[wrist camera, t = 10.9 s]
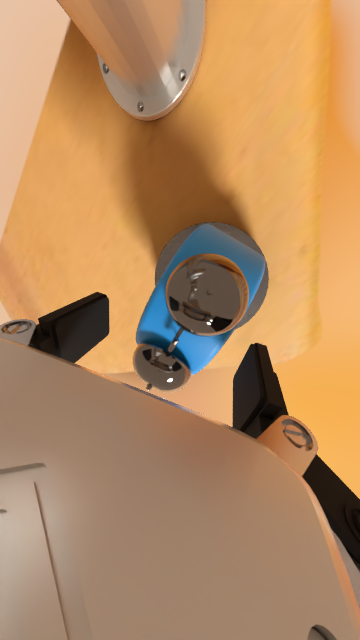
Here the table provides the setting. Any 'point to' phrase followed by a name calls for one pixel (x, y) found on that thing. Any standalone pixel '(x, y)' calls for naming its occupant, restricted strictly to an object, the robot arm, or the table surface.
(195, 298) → the alarm clock
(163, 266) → the round tin
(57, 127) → the table surface
